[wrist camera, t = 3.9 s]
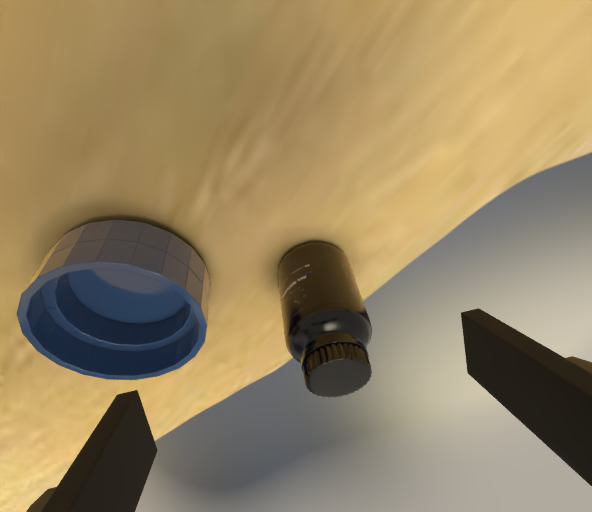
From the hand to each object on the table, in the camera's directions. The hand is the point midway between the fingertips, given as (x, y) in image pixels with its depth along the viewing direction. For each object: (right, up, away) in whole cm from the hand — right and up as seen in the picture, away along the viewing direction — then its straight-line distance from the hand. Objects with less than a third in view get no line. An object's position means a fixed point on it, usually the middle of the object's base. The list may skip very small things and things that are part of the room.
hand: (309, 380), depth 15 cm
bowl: (-15, +3, +18) cm, 24 cm away
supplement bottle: (+1, +4, +21) cm, 21 cm away
